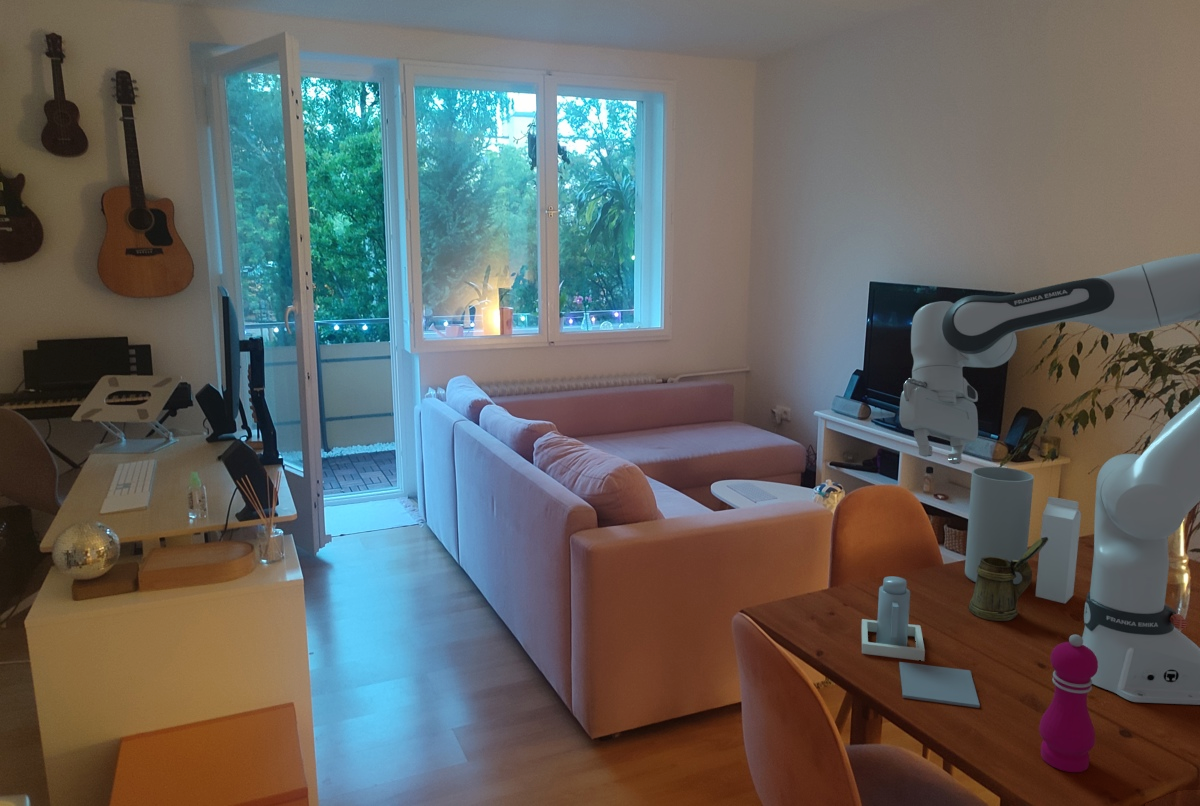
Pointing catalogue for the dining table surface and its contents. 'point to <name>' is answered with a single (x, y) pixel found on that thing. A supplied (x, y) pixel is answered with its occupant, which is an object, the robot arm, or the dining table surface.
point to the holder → (892, 650)
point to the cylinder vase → (998, 516)
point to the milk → (1058, 550)
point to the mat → (938, 684)
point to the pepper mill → (1069, 708)
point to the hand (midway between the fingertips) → (940, 459)
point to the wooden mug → (1001, 585)
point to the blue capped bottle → (893, 612)
